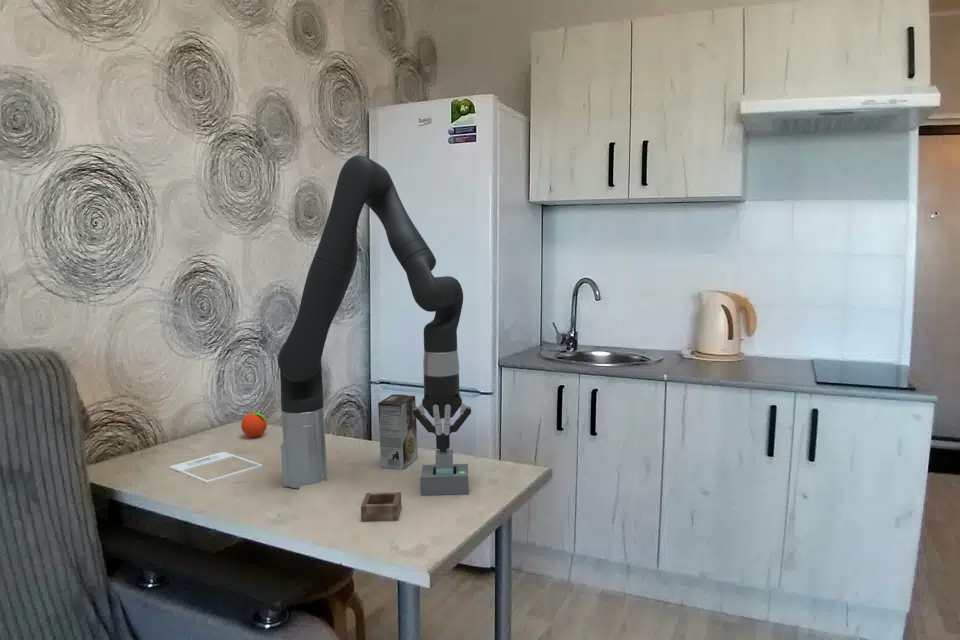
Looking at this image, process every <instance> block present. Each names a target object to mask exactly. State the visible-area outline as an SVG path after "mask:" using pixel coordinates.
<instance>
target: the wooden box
mask: <svg viewBox="0 0 960 640" xmlns="http://www.w3.org/2000/svg"><path fill="white" fill-rule="evenodd" d="M402 508H403V507H402V492H401V491H400V492H399V491H396V492H389V491H388V492H366V493H365V495H364V497H363V500H362V503H361V506H360V516H361V517H360V518H361V521H360V522H361V523H362V522H363V523H365V522H367V523H368V522H371V523H372V522H398V521H399V519H400V518H399V517H400V515H401V510H402Z"/></svg>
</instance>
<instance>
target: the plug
mask: <svg viewBox="0 0 960 640" xmlns="http://www.w3.org/2000/svg"><path fill="white" fill-rule="evenodd" d="M453 464H454V449H447V452H440V449H436V450H435V465H436V475H440V474H453Z"/></svg>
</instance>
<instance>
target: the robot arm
mask: <svg viewBox="0 0 960 640" xmlns="http://www.w3.org/2000/svg"><path fill="white" fill-rule="evenodd" d="M334 189H335V190H334V194H333V198H332V200H331V201H332V202H331V206H330V210H329V213H328V217H327V219H326V222H325V225H324V227H323V231H322V233H321V237H320V240H319V243H318V244H317V245H318V246H317V248H316V251H315V253H314V256H313V257H312V260H311V264H310V267H309V268H308V272H307V276H306V278H305V283H304V287H303V290H302V294H301V300H300V305H299V309H298V313H297V316H296V319H295V322H294V324H293V325H292V328H291V330H290V332H289V334H288V337H287V338H286V340H285V341H284V343H283V345H282V346H281V347H280V349H279V351H278V355H277V364H278V369H279V375H280V409H281V422H282V423H281V424H282V444H281V445H280V456H281V458H280V459H281V473H282V474H281V475H282V487H284V488H285V487H287V488H288V487H289V488H292V489H300V488H301V487H302V486H309V485H314V484H318V483H321V482H323V481H325V482H326V481H328V468H327V450H326V449H327V447H326V432H325V429H326V428H325V411H324V386H323V370H322V369H323V368H322V358H323V353H324V349H325V344H326V341H327V337H328V333H329V331H330V327H331V324H332V323H333V321H334V319H335V317H336V315H337V313H338V311H339V308H340V306H341V305H342V302H343V300H344V297H345V295H346V293H347V291H348V288H349V285H350V283H351V281H352V279H353V278H352V277H353V275H354V271H355V269H356V266H357V262H358V233H357V231H358V224H359V220H360V216H361V213H362V210H363V207H364V205H365V204H366V205H367V207H369V208H370V209H371V211H372V212H373V213H374V214H375V215H376V217H377V218H378V219H379V220H380V223H381V224H382V227H384V231H385V233H386V237H387V242H388V244H389V246H390V249H391V250H392V253H393V255H394V256H395V257H396V260H397V261H398V263H399V264H400V265H401V267H402V269H403V270H404V272H405V273H406V278H407V281H408V284H409V287H410V290H411V293H412V294H411V295H412V297H413V299H414V301H415V302H416V304H417V306H418V307H419V308H421V309H422V310H424V311H426V312H428V313H435V314H434V317H433V320H431V321H429V322H428V323H426V325H424V327H423V359H422V360H423V361H422V362H423V363H422V365H423V398H422V400H421V404H419V405H418V406H417V407H416V408H414V411H413V415H414V416H415V417H416V420H418V421H419V423H420V424H421V426H423V428H424V429H425V430H426V431H427V432H428V433H431V434H433V435H435V441H436V443H435V446H436V447H435V448H436V450H440V452H447V450H450V445H451V443H450V440H451V439H450V438H451V436H450V435H451V434H452V433H457V432H458V431H459V429H460V428H461V427H462V425H463V424H464V422H466V420H467V419H468V418H469V416H470V415H471V414H472V407H471V406H470V405H469V406H468V405H466V404H465V403H463V399H462V397H461V395H460V363H459V362H460V361H459V353H458V335H457V334H458V327H459V323H460V319H461V314H462V308H463V305H464V291H463V288H462V286H461V283H460V281H459V280H458V279H456V278H455V277H453V276H451V275H450V276H449V275H445V276H436V277H435V276H434V274H433V272H432V271H433V270H434V269H435V267H436V265H437V260H436V257H435V255H434V253H433V251H432V250H431V248H430V247H429V245H428V244H427V242H426V241H425V238H423V237H422V234H421V233H420V231H419V230H418V229H417V227H416V225H415V224H414V222H413V221H412V219H411V217H410V216H409V214H408V212H407V210H406V208H405V206H404V204H403V202H402V201H401V198H400V196H399V193H398V191H397V189H396V186H395V184H394V182H393V179H392V176H391V175H390V173H389V172H388V170H387V169H386V168H385V167H384V166H382V165H381V164H379V163H378V162H376V161H374V160H373V159H371V158H369V157H368V156H365V155H362V154H357V155H354V156H351V157H350V158H349V159H347V160H346V161H345V163H344V164H343V166H342V168H341V169H340V171H339V174H338V177H337V181H336V185H335V188H334ZM459 409H460V410H459ZM458 410H459V416H458V417H457V419H456V420H455V421H454V422H453V424H452V425H451V419H452V418H453V417H454V416H455V415H456V413H457V412H458ZM426 412H427V413H428V414H429V416H430V417H431V418H433V420H434V421H433V422H434V425H433V423H432V422H431V421H430V420H429V419H428V417H427V416H426V415H425V414H426ZM442 419H444V420H443V421H444V422H443V425H442Z"/></svg>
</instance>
